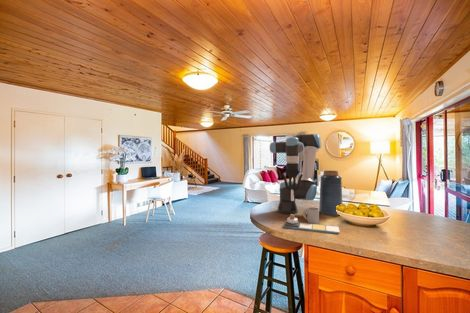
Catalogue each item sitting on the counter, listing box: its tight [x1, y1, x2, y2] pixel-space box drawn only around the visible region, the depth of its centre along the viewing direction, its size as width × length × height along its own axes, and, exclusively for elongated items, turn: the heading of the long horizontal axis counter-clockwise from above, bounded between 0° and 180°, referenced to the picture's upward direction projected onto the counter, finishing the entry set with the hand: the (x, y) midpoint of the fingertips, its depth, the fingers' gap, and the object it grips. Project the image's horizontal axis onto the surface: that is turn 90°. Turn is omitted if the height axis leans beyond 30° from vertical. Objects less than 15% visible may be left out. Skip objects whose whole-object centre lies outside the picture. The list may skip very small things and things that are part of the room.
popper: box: [286, 214, 299, 224], centre depth 138 cm, size 6×6×4 cm
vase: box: [318, 170, 343, 217], centre depth 165 cm, size 16×16×32 cm
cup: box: [302, 206, 320, 224], centre depth 145 cm, size 7×10×9 cm
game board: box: [283, 220, 340, 235], centre depth 134 cm, size 11×31×2 cm, turn 69°
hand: (292, 200), depth 138 cm, fingers closed
